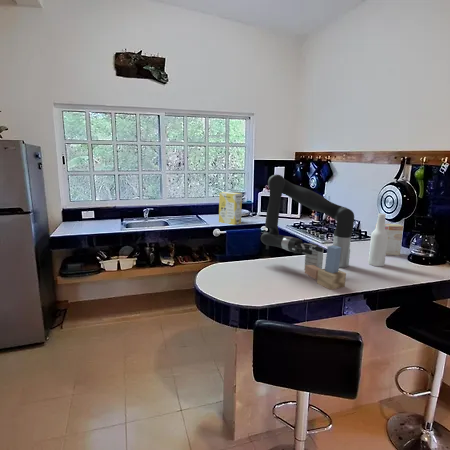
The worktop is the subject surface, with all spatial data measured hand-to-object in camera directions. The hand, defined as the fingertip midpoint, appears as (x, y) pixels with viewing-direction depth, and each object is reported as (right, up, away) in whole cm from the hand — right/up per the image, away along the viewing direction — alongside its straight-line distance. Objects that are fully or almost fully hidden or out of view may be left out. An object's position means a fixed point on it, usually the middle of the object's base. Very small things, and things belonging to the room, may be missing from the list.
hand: (317, 251), depth 164 cm
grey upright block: (+2, -12, +17) cm, 21 cm away
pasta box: (-41, +15, +149) cm, 155 cm away
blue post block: (+5, -9, -6) cm, 12 cm away
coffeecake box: (+60, -6, +54) cm, 81 cm away
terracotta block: (+1, -13, +8) cm, 16 cm away
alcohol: (+43, -10, +30) cm, 53 cm away
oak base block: (+5, -16, -4) cm, 17 cm away
